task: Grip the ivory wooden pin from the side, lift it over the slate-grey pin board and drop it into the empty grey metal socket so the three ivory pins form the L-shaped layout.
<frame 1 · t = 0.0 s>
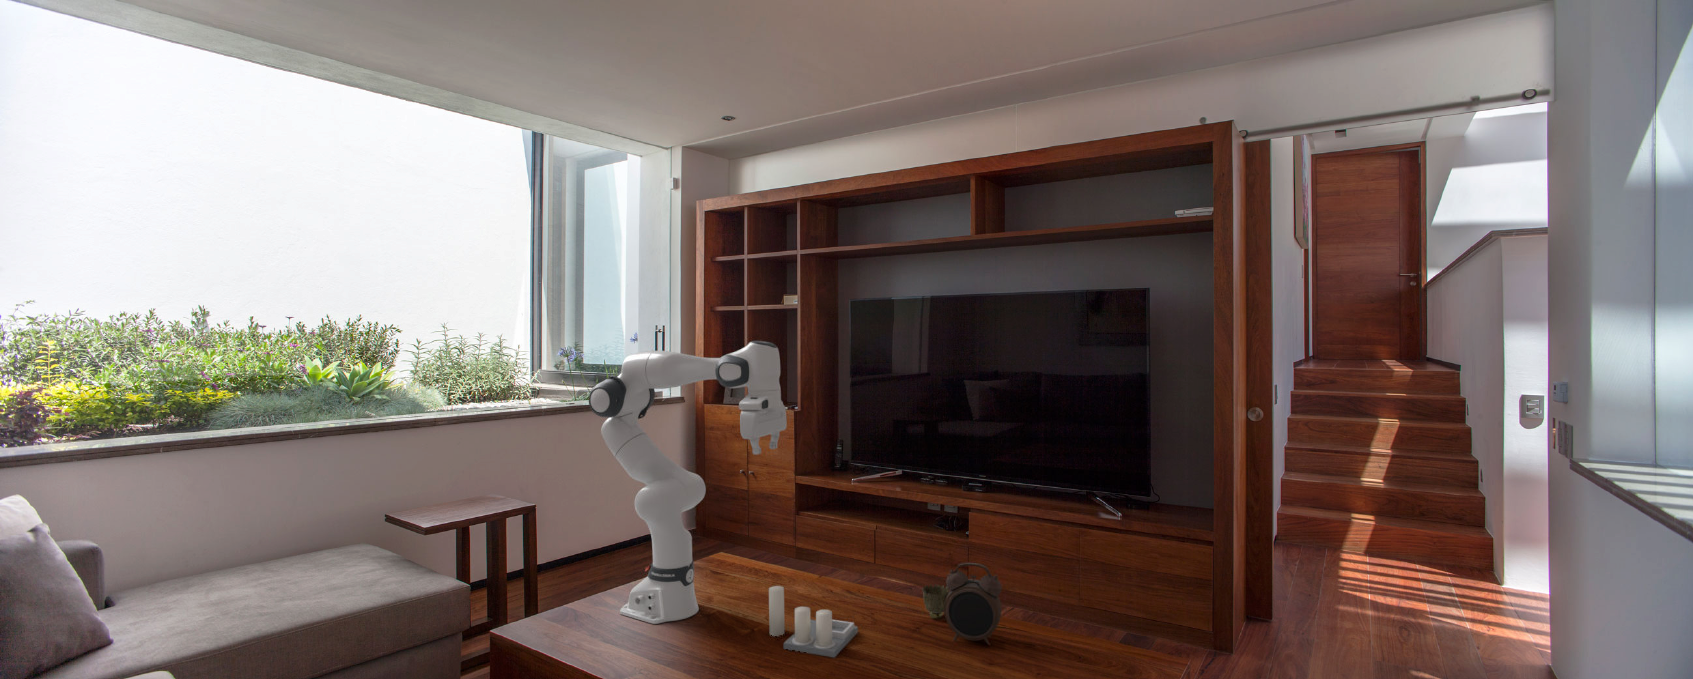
hand: (765, 451, 198), 48 cm above the table, tool pointing down, fingers open, 8 cm apart
ivory pin: (777, 633, 194), on the table
pin board: (821, 640, 189), on the table
cup: (936, 617, 203), on the table
alarm clock: (973, 642, 187), on the table
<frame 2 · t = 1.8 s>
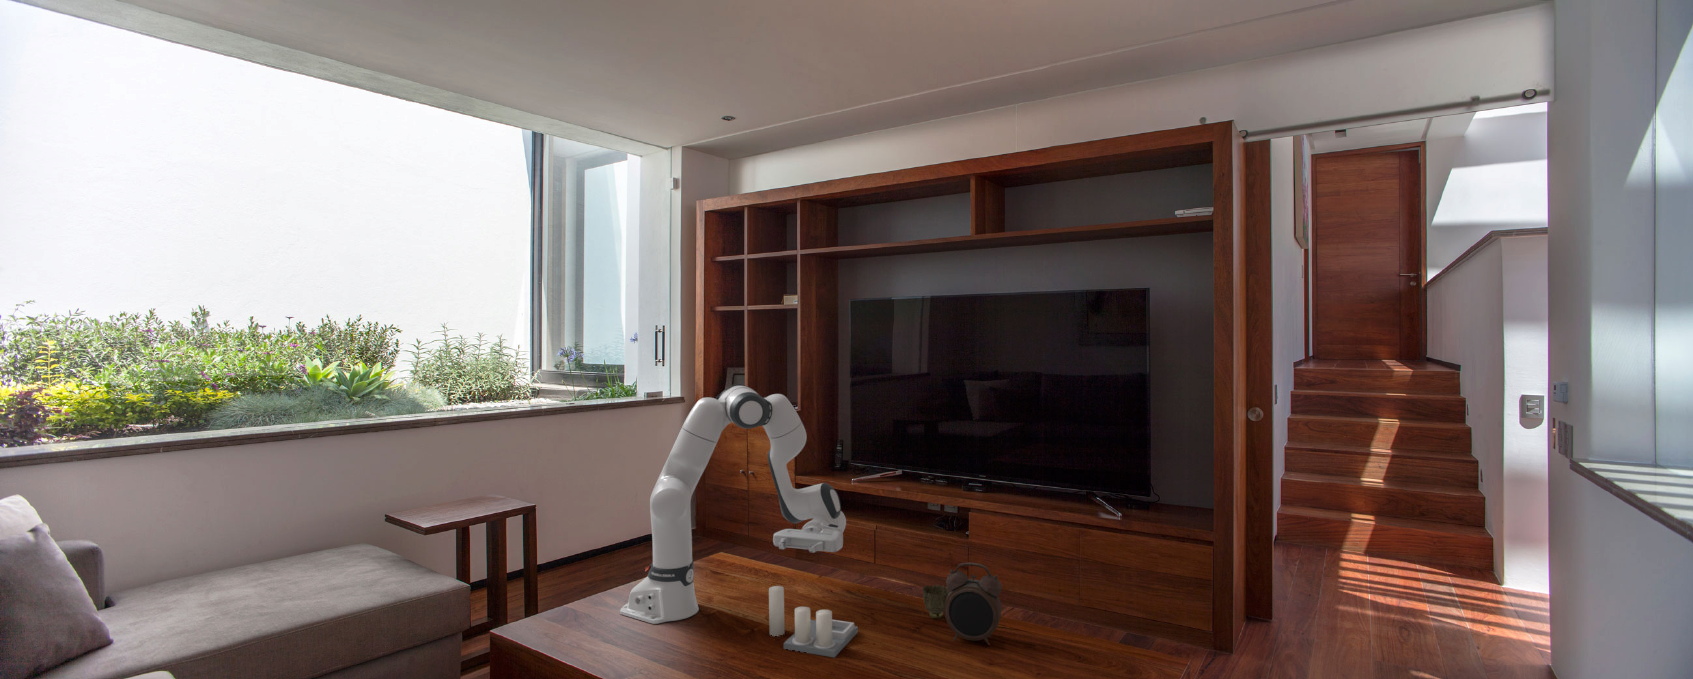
hand: (796, 548, 205), 19 cm above the table, tool horizontal, fingers open, 8 cm apart
nothing on the table moved.
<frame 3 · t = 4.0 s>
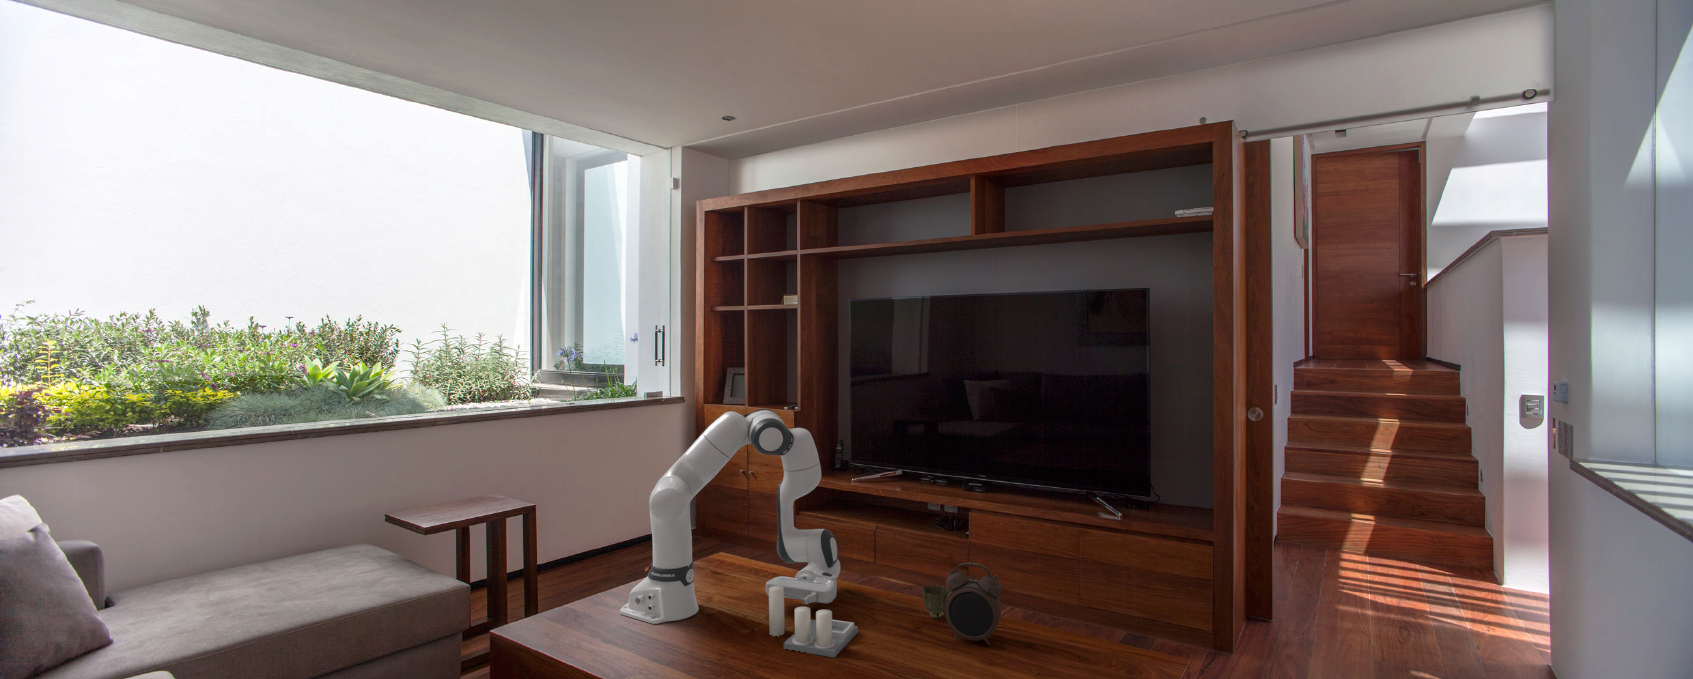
hand: (788, 599, 201), 7 cm above the table, tool horizontal, fingers open, 8 cm apart
nothing on the table moved.
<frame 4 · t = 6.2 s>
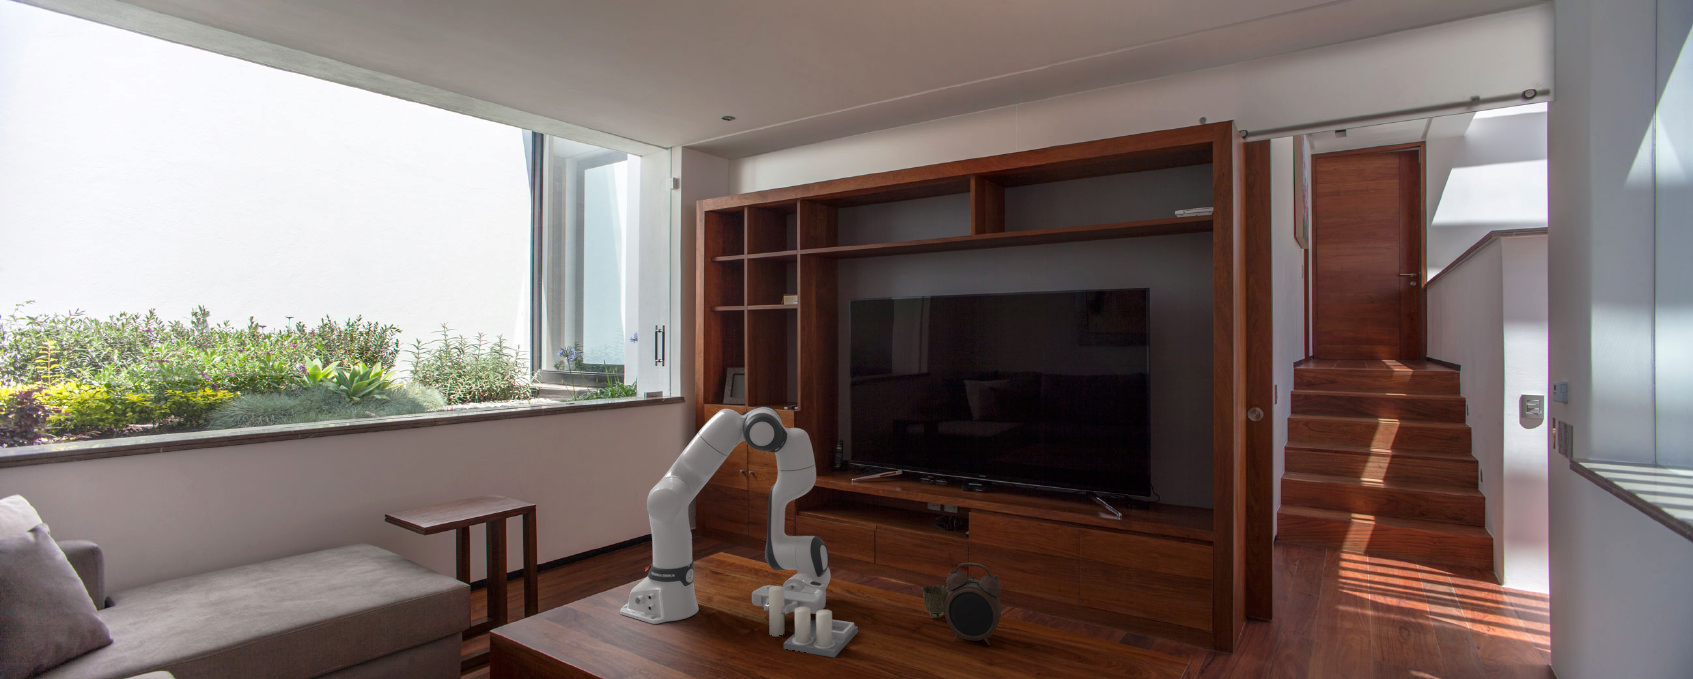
hand: (775, 609, 193), 7 cm above the table, tool horizontal, fingers closed on ivory pin, 4 cm apart
ivory pin: (777, 633, 194), on the table, touching gripper
everything else where it was.
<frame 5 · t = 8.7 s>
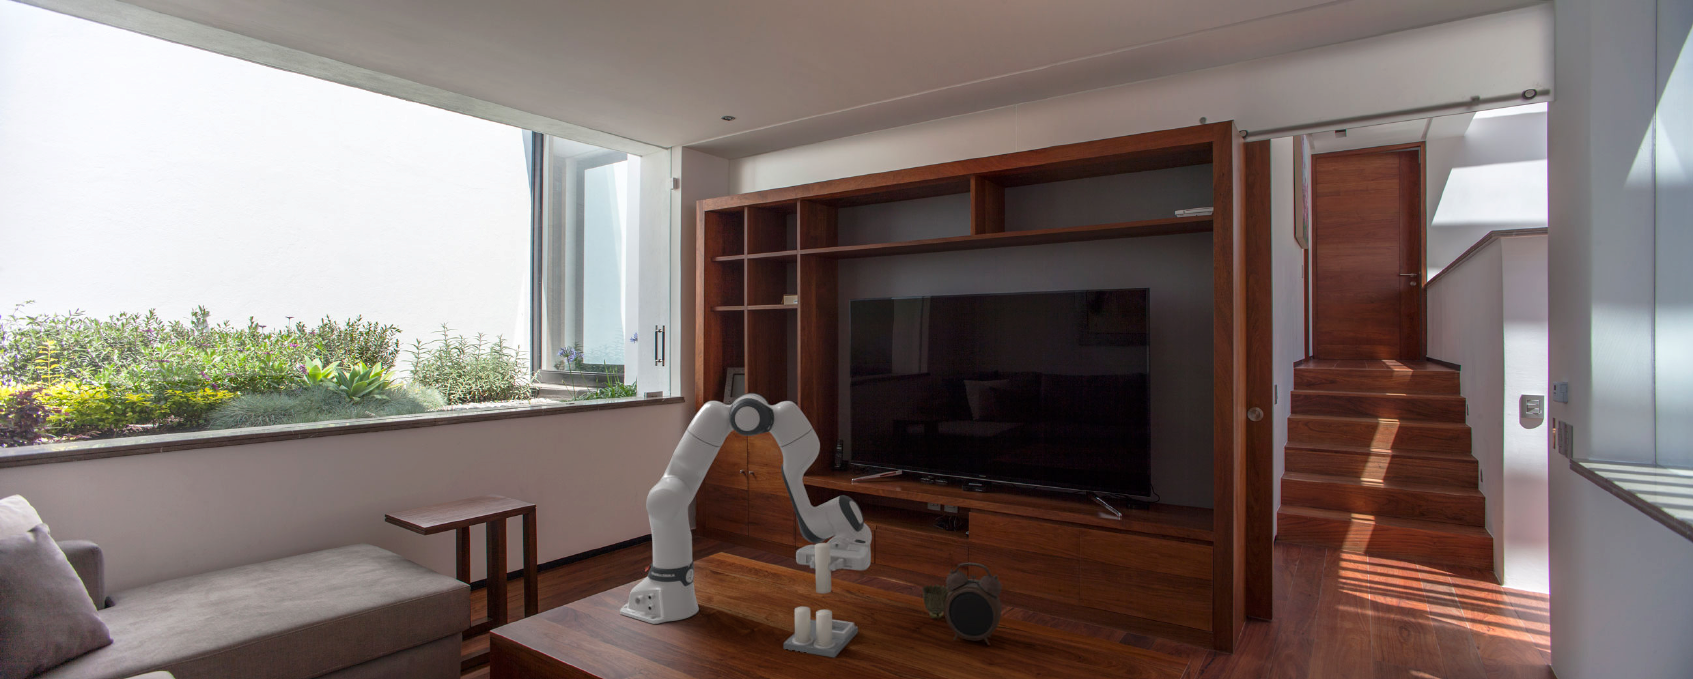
hand: (821, 566, 191), 19 cm above the table, tool horizontal, fingers closed on ivory pin, 4 cm apart
ivory pin: (823, 590, 192), point 12 cm above the table, touching gripper
everything else where it was.
when the fingers open (9 cm above the table, at t = 11.5 s): ivory pin stays where it is, resting on pin board.
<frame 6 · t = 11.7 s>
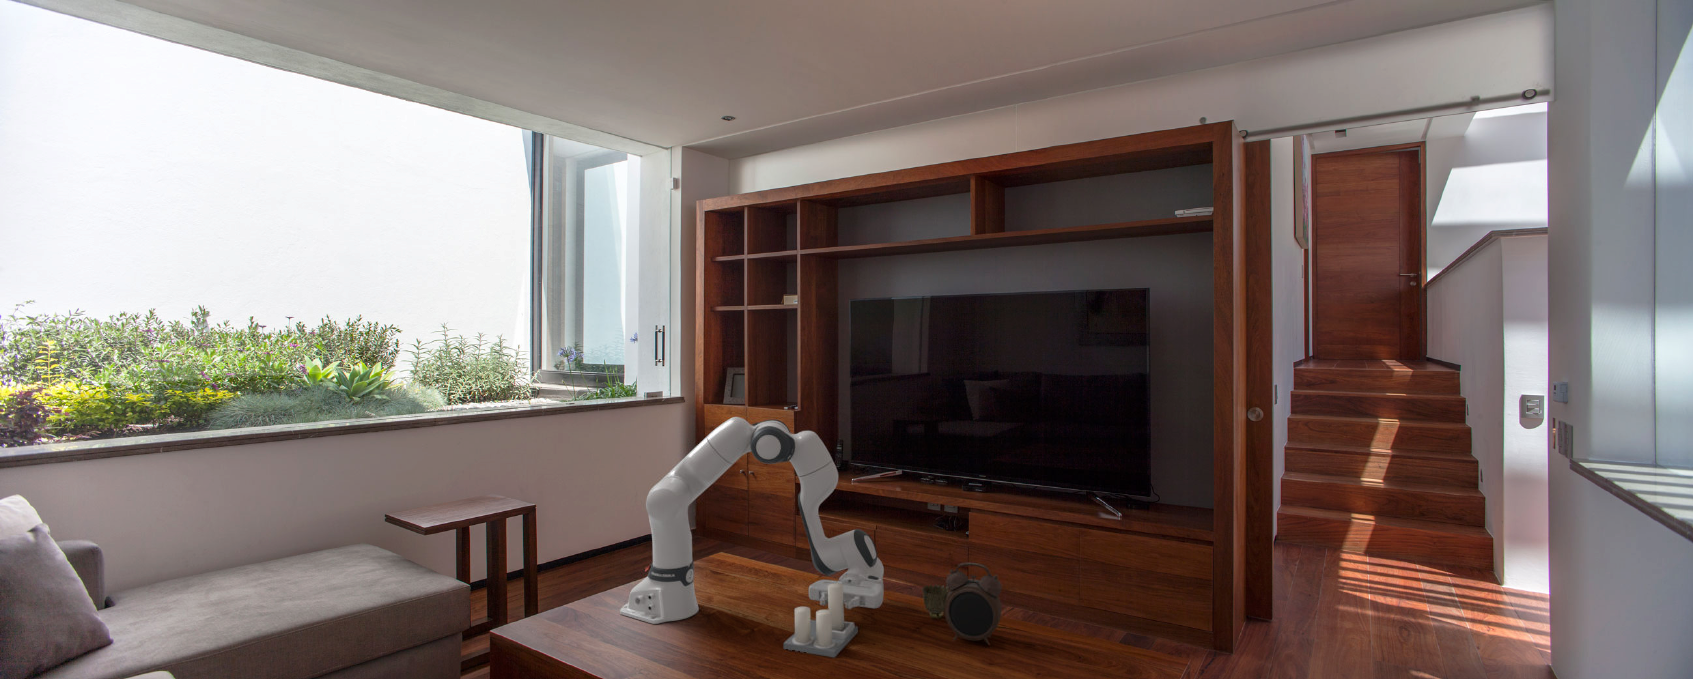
hand: (834, 604, 190), 9 cm above the table, tool horizontal, fingers open, 6 cm apart
ivory pin: (836, 631, 191), point 2 cm above the table, touching pin board
everything else where it was.
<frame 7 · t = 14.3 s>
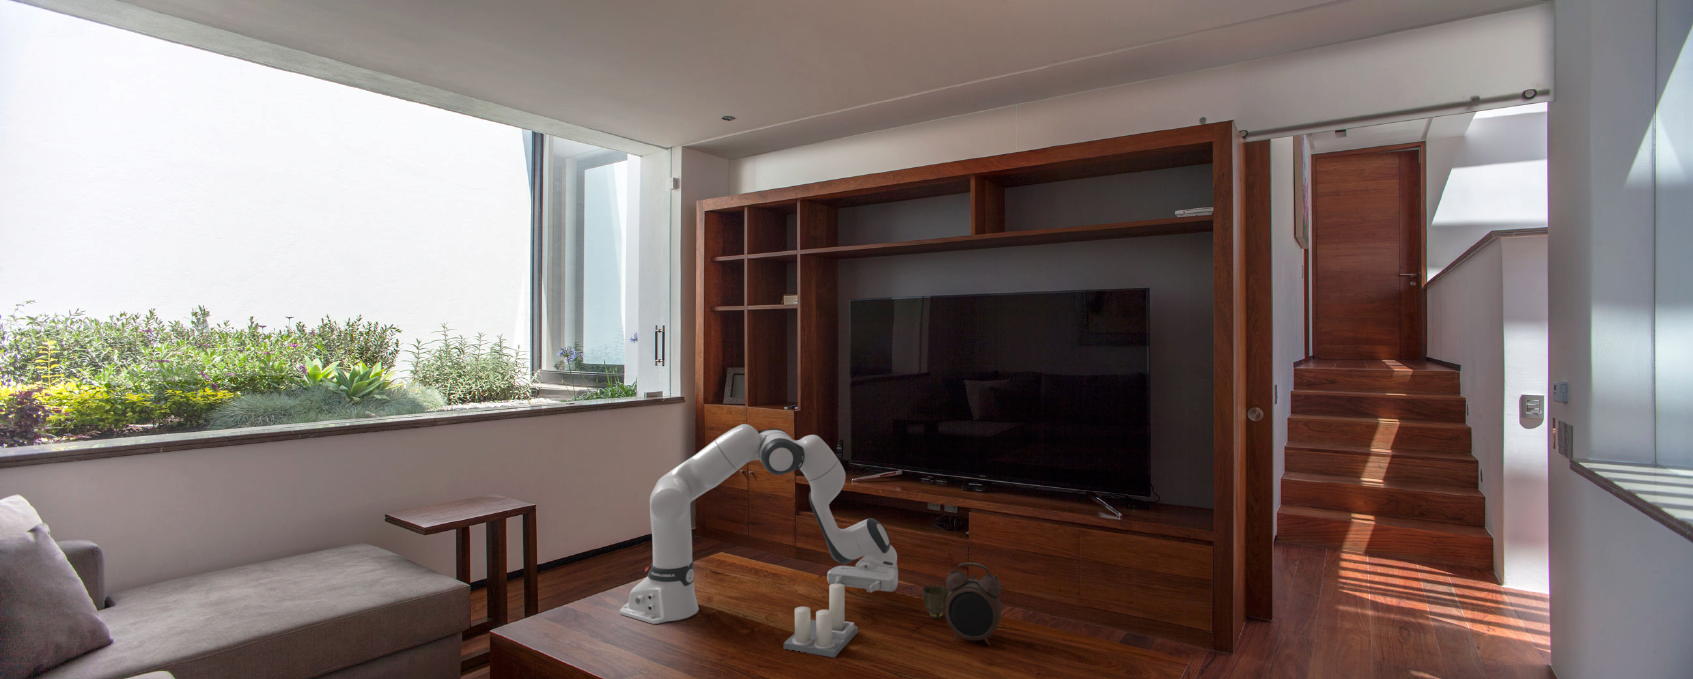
hand: (852, 587, 201), 9 cm above the table, tool horizontal, fingers open, 8 cm apart
nothing on the table moved.
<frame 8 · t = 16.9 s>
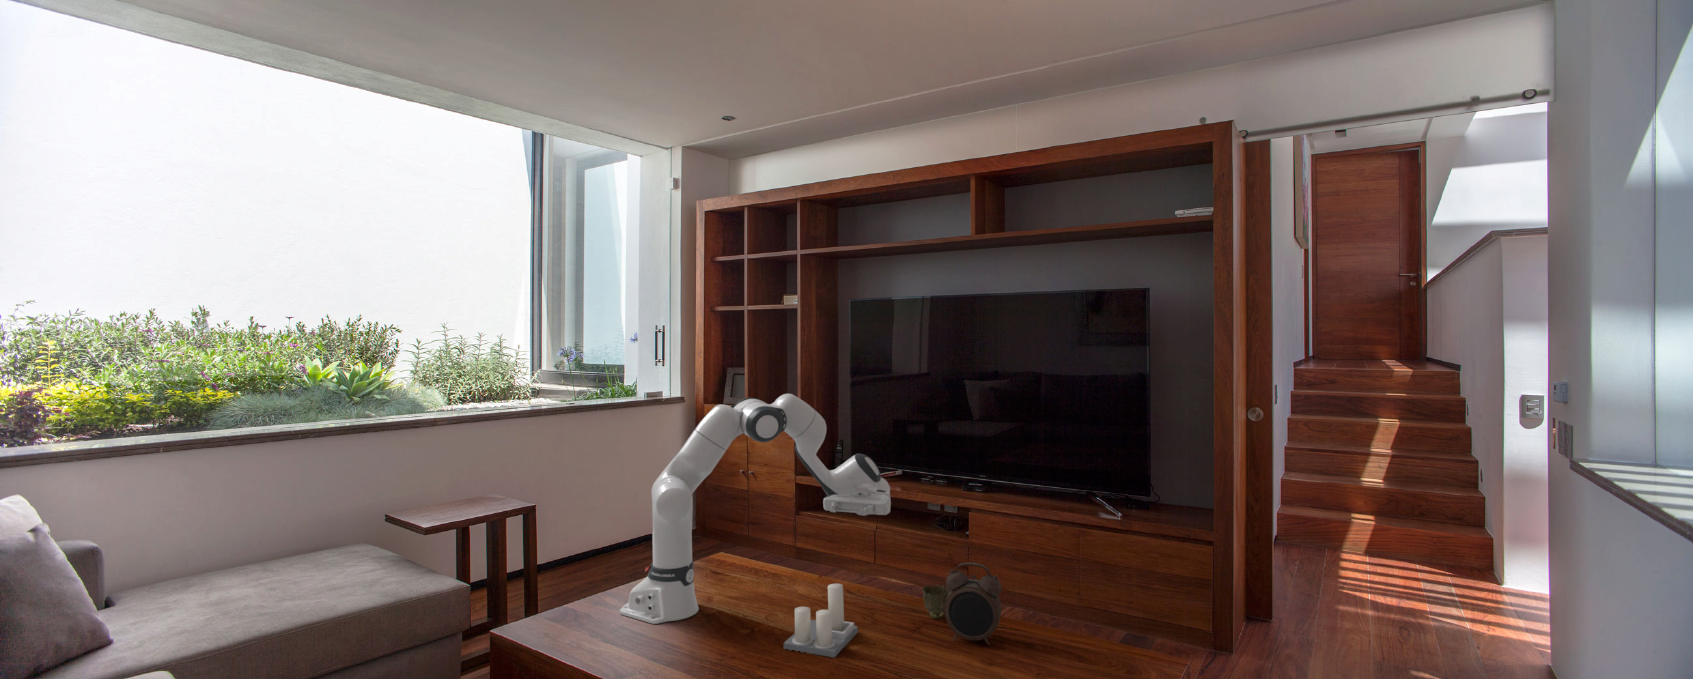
hand: (847, 510, 212), 28 cm above the table, tool horizontal, fingers open, 8 cm apart
nothing on the table moved.
at the end: ivory pin 0.1 cm from the target spot on the pin board, point 1.5 cm above the pin board's base; ivory pin tilted 1°; the gripper is holding nothing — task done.
